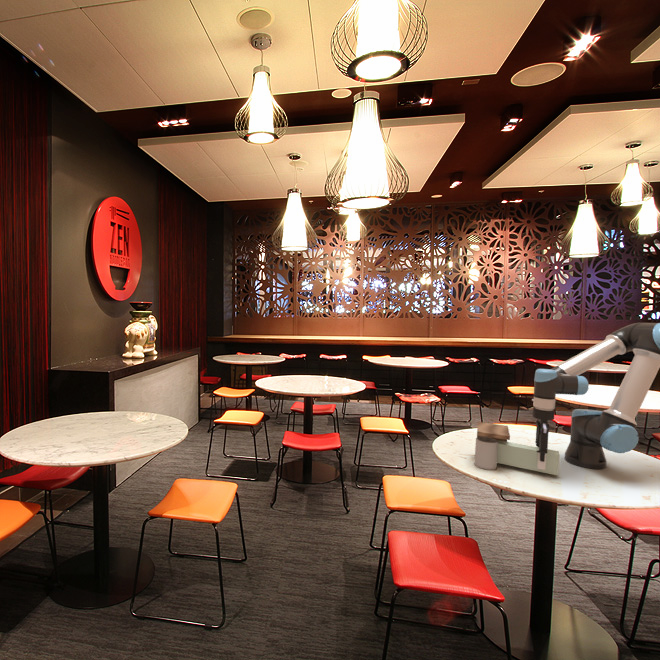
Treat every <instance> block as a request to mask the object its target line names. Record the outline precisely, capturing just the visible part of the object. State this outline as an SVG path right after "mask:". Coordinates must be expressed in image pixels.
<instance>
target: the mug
mask: <svg viewBox="0 0 660 660" xmlns="http://www.w3.org/2000/svg"><path fill="white" fill-rule="evenodd" d="M474 447H475V448H474V449H475V450H474V466H476V467H477V468H479V469H483V470H487V471H489V470H490V471H491V470H496V469H497V467H498V463H497V450H498V441H497V440H496V439H494V438H491V437H484V436H480V437H477V436H476V437H475V446H474Z"/></svg>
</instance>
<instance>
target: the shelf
mask: <svg viewBox="0 0 660 660" xmlns="http://www.w3.org/2000/svg"><path fill="white" fill-rule="evenodd" d="M480 436H484V437H491V438H494V439H496V440H497V441H498V440H500V441H506V442H508V441H511V435H510V429H509V426H508V425H505V424H504V425H502V424H498V423H497V424H496V423H489V422H488V423H487V422H480V421H478V422H477V429H476V438H477V437H480Z"/></svg>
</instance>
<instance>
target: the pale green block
mask: <svg viewBox="0 0 660 660" xmlns="http://www.w3.org/2000/svg"><path fill="white" fill-rule="evenodd" d="M537 451H539V447H537V446H532V445H527V444H522V443H517V442H511V441H510V442H509V441H507V442H506V441H500V440H498V450H497V464H502V465H506V466H512V467H516V468H521V469H525V470H528V471H529V470H530V471H534V472H540V473H544V474H550V475H555V476H559V463H560V453H559V452H560V451H559V450H554V449H549V448H548V449H547V451H548V453H546V465H545V470H543V469H537V461H538V452H537Z"/></svg>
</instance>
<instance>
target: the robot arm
mask: <svg viewBox="0 0 660 660" xmlns="http://www.w3.org/2000/svg"><path fill="white" fill-rule="evenodd" d="M629 352H633V354H634V356H633V358H632V361H631V363H630V365H629V366H628V369H627V370H626V372H625V375H624V378H623V379H622V381H621V384H620V386H619V387H618V389H617V392H616V394H615V396H614V398H613V400H612V401H611V403H610V406H609V408H608V409H604V410H597V409H587V408H586V409H585V408H584V409H583V408H574V409H573V410H572V413H571V421H570V422H571V424H570V425H571V426H570V437H569V438H570V439H569V441H570V442H569V443H568V445H567V447H566V449H565V453H564V460H565V461H566V462H568V463H570V464H572V465H575V466H578V467H582V468H586V469H592V470H603V469H606V468H607V459H606V454H605V452H604V450H607V451H609V452H613V453H616V454H625V453H628V452H631V451H633V449H634V448H636V446H637V445H638V443H639V438H640V437H639V436H638V435H639V433H638V431H637V430H636V428H637V426H638V423H637V422H636V417H637V415H638V413H639V411H640V409H641V406H642V404H643V403H644V401H645V399H646V397H647V394H648V393H649V390H650V389H651V387H652V384H653V382H654V380H655V378H656V376H657V374H658V371H659V369H660V322H636V323H631V324H628V325H626V326H624V327H621V328H619V329H617V330H615V331H613V332H611V333H609V334H608V335H606V336H605V339H603V341H600V342H599V343H597V344H595V345H592V346H590V347H589V348H587V349H585V350H584V351H581V352H580V353H578V354H577V355H574V356H571V357H570V358H569V359H567V360H565V361H563V362H561V363H559V364H558V365H556V366H554V367H552V368H551V369H548V368H537V369H536V370H535V373H534V378H533V381H534V382H533V383H534V387H533V398H532V399H531V401H532V402H533V403H532V404H533V408H532V413H531V414H532V417H533V418H534V419H536V423H535V424H536V430H535V441H534V442H535V447H539V451H537V452H538V461H537V469H543V470H545V465H546V453H548V451H547V449H549V448H548V447H549V445H548V444H549V433H550V424H549V423H548V421H553V420H554V419H555V408H556V396H557V395H568V396H569V395H574V396H581V395H582V396H583V395H585V394H586V393H588V391H589V380H588V379H587V378H586V377H585V376H583V375H581V374H583V373H585V372H588V371H589V370H592V369H593V368H594V367H597V366H598V365H600V364H602V363H604V362H606V361H608V360H610V359H611V358H614V357H615V356H617V355H624V354H626V353H629Z"/></svg>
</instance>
